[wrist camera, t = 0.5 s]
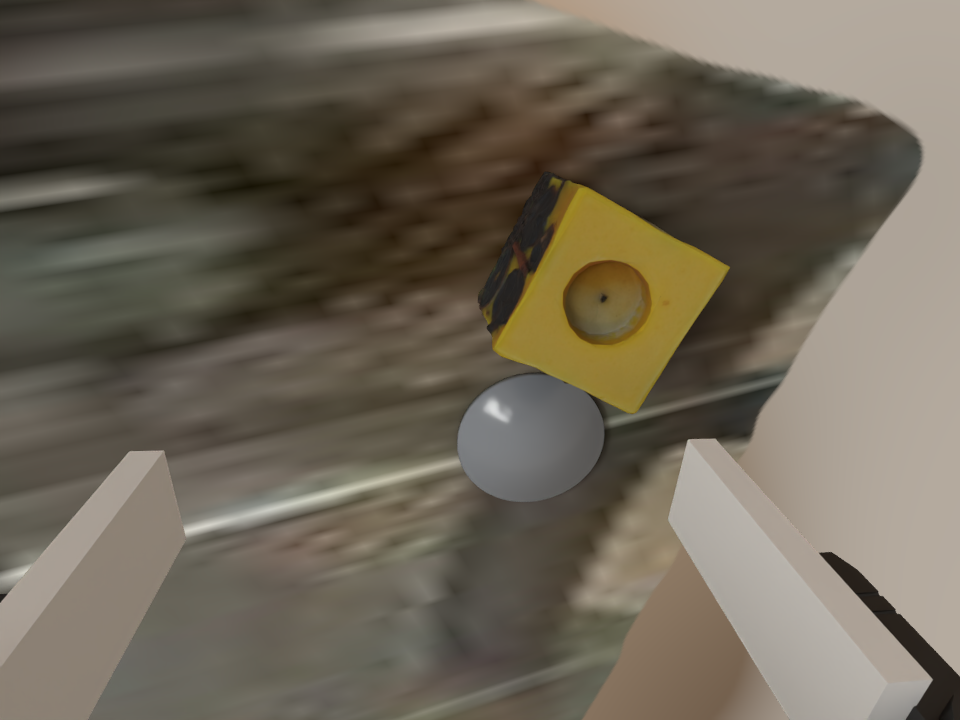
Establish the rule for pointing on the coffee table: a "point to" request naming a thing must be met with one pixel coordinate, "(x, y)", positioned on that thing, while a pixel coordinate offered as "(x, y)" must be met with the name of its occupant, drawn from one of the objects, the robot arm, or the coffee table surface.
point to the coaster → (530, 437)
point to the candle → (594, 293)
